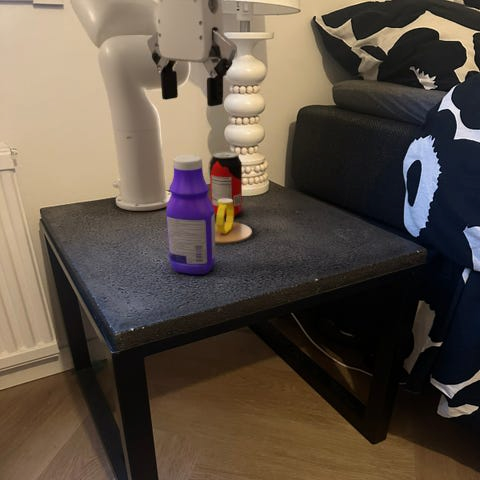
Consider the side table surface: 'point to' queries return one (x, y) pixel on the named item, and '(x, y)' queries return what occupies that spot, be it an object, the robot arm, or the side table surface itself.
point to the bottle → (190, 218)
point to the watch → (222, 207)
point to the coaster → (233, 234)
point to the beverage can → (226, 179)
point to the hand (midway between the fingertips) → (192, 101)
